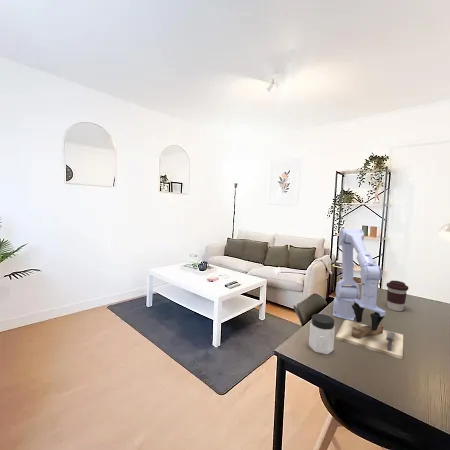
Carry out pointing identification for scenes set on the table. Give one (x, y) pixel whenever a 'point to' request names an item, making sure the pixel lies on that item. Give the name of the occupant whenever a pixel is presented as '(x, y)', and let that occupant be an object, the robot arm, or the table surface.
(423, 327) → the table surface
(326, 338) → the jar
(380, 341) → the plate
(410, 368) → the table surface
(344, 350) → the table surface
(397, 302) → the coffee cup
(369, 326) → the brown long round-headed piece
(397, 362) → the table surface
